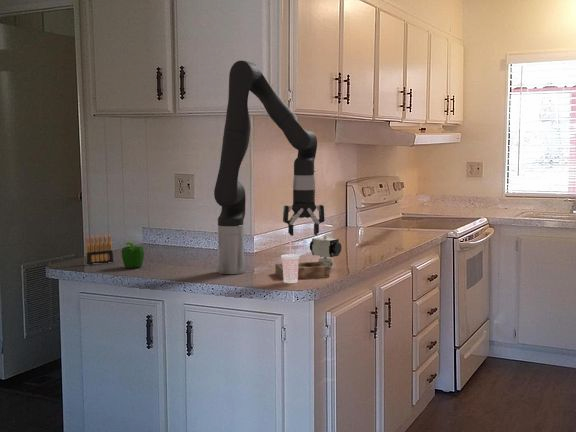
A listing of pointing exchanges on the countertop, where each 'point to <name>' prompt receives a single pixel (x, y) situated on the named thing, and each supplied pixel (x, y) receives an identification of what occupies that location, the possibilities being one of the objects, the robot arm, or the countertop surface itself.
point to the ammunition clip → (99, 250)
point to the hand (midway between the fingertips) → (303, 235)
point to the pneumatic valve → (325, 249)
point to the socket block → (306, 270)
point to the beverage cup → (290, 267)
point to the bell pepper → (132, 256)
